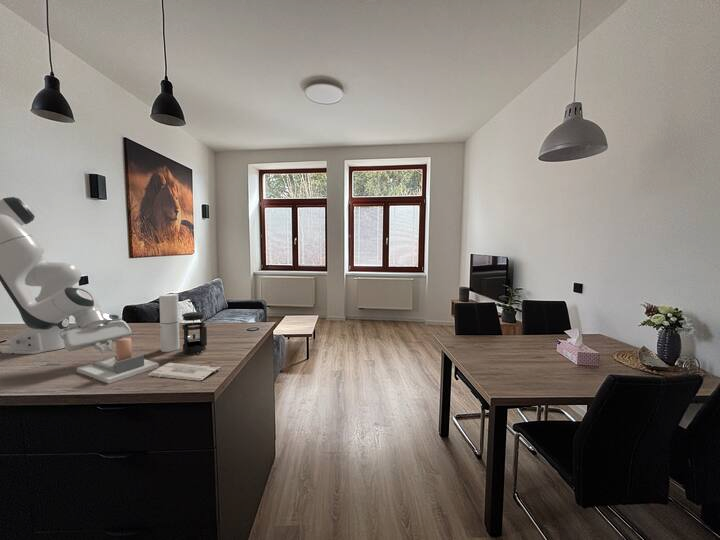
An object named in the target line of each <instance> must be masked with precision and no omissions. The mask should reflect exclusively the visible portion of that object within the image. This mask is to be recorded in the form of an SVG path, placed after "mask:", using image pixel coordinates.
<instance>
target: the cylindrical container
mask: <svg viewBox="0 0 720 540" xmlns="http://www.w3.org/2000/svg"><path fill="white" fill-rule="evenodd" d="M158 298H159V324H160V325H159V327H160V328H159V331H160V351H161V352H163V353H169V352H175V351H177V349H178V350H179V349H180V317H179V315H180V314H179V313H180V311H179V294H178V293H166V294H165V293H164V294H159V296H158ZM174 350H175V351H174Z"/></svg>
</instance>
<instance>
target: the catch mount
mask: <svg viewBox="0 0 720 540" xmlns="http://www.w3.org/2000/svg"><path fill="white" fill-rule="evenodd" d="M113 364H115V367H113ZM159 367H160V364H159V362H155V361H152V360H148V359H145V354H144V355H143V354H140V355H139V354H138V355H135V356H134V355H132V357H131V358H128V359H124V360H121V361H117V355H115V356H114V357H112V358H108V359H105V360H100V361H97V360H95V361H92V363H90V364H85V365H82V366H78V367H76V372H77V373H79V374H82V375H84V374H85V376H87V377H90V378H92V377H93V379H95V380H97V381H101V382H104V383H106V384H108V385H110V384H112V383H115V382H119V381H122V380H125V379H128V378H130V377H134V376H137V375H139V374H142V373H146V372H149V371H153V370H156V369H158V368H159Z"/></svg>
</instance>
